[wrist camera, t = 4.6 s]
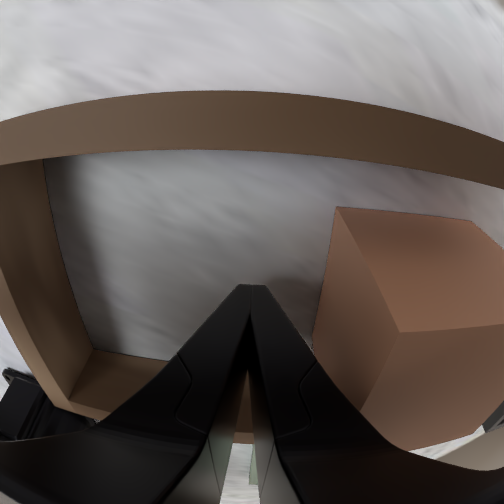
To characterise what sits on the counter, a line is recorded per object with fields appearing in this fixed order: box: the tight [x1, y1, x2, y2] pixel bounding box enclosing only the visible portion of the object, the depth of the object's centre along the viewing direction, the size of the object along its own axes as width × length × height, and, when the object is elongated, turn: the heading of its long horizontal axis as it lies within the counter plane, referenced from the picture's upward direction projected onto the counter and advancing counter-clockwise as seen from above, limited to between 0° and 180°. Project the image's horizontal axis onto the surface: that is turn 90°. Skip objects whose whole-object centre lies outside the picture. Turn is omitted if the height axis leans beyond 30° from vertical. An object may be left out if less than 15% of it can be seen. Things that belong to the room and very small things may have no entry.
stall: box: [0, 91, 504, 444], centre depth 8 cm, size 11×14×3 cm
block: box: [312, 207, 504, 451], centre depth 7 cm, size 5×5×5 cm
